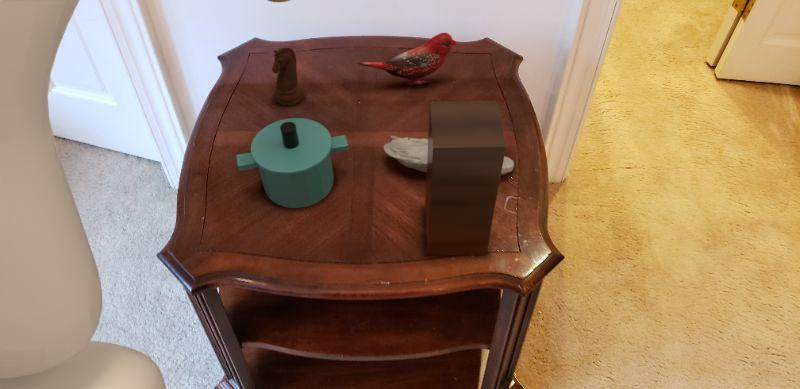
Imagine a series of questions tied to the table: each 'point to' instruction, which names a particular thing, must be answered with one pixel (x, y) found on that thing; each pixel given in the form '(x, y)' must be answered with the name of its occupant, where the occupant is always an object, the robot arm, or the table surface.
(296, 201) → the pot
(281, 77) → the chess piece
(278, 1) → the cylinder
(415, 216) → the table surface
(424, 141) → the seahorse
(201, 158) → the table surface
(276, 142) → the pot lid
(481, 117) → the pedestal
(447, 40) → the decorative bird figurine
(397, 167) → the table surface
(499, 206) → the table surface
